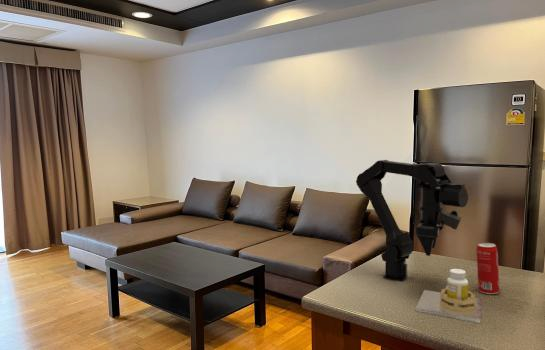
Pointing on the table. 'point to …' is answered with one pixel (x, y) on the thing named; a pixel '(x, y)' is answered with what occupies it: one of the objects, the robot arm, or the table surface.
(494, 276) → the beverage can
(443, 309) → the plate
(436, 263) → the table surface
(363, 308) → the table surface
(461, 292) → the supplement bottle
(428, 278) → the table surface
